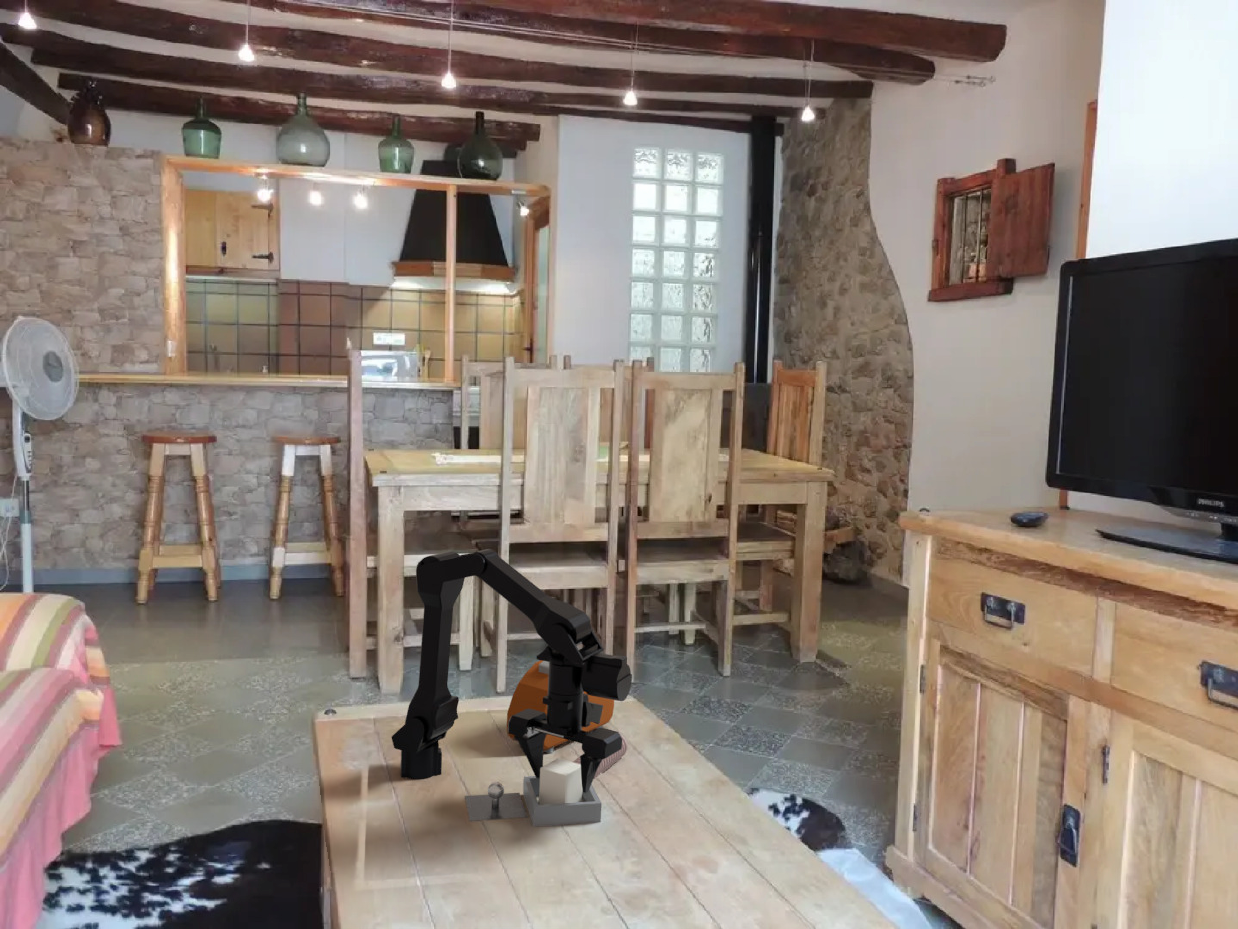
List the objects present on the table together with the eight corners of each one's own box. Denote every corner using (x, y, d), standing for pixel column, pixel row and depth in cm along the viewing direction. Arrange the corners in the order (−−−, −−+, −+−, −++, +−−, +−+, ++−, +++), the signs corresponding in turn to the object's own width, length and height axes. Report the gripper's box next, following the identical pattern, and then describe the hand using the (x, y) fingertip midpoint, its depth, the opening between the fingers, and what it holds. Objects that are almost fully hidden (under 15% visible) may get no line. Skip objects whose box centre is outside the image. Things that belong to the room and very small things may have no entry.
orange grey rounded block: (580, 716, 198) (583, 638, 197) (614, 726, 193) (618, 646, 192) (503, 748, 179) (506, 661, 178) (540, 760, 174) (543, 671, 173)
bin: (533, 832, 146) (534, 807, 146) (522, 800, 157) (523, 776, 157) (600, 828, 149) (601, 803, 148) (585, 796, 160) (586, 773, 159)
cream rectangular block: (564, 818, 149) (566, 775, 149) (538, 810, 152) (540, 768, 151) (581, 807, 154) (583, 765, 153) (556, 799, 156) (558, 758, 156)
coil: (588, 769, 161) (631, 735, 177) (564, 760, 163) (608, 728, 179) (585, 794, 162) (627, 758, 178) (561, 786, 163) (605, 751, 180)
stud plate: (469, 827, 147) (470, 796, 146) (464, 802, 156) (465, 773, 155) (527, 823, 149) (528, 793, 149) (519, 798, 158) (520, 770, 157)
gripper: (641, 689, 153) (637, 782, 155) (547, 667, 163) (544, 755, 164) (605, 707, 144) (600, 806, 145) (507, 683, 153) (504, 776, 155)
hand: (562, 784), depth 152 cm, fingers open, 9 cm apart
